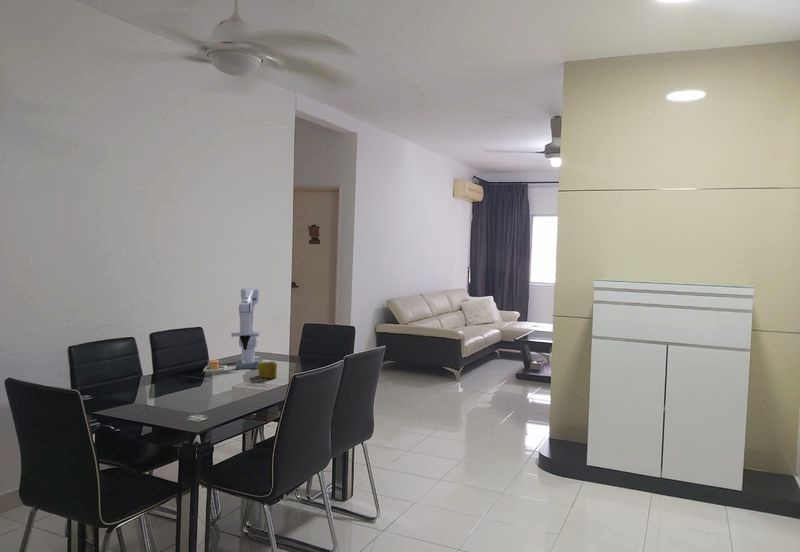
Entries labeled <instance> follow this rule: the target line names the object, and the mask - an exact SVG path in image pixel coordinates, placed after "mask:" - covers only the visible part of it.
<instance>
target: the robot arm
mask: <svg viewBox="0 0 800 552" xmlns="http://www.w3.org/2000/svg"><path fill="white" fill-rule="evenodd" d="M240 297H241V302H240V303H238V304H239V305H238V314H239V332H231V338H232V337H239V338H238V345H239V347H240V349H241V360H242V361H245V362H256V359H255V356H256V354H255V352H256V350H255V349H256V347H257V346H258V337H259V336H260V332H256V331H254V311H255V306H256V305H257V304H258V303H259V300H260V299H259V297H260V289H259V287H242V288H241V290H240Z"/></svg>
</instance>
